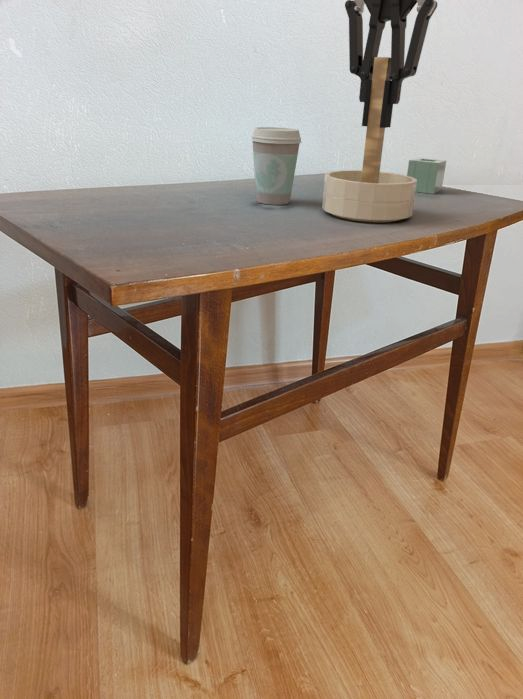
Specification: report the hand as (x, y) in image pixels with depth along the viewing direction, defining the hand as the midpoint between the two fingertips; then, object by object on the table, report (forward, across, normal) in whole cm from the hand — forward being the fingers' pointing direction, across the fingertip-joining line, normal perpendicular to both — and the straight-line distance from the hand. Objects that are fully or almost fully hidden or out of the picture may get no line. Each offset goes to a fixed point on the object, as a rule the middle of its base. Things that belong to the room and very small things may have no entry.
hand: (376, 126), depth 91 cm
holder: (+13, 0, +32) cm, 35 cm away
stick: (+12, 0, 0) cm, 12 cm away
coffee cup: (+14, -17, -1) cm, 22 cm away
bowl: (+14, 0, 0) cm, 14 cm away
